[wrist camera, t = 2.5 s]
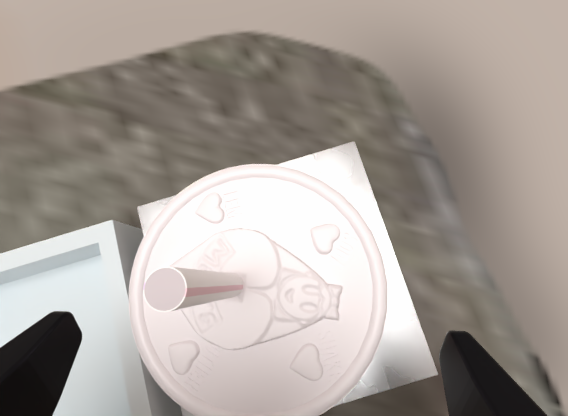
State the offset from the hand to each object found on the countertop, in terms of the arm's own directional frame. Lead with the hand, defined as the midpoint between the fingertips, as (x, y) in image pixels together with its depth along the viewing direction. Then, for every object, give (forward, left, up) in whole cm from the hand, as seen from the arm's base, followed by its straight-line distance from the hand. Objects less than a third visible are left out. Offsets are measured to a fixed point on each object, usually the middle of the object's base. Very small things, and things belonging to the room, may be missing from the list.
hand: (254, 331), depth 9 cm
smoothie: (+1, 0, -10) cm, 10 cm away
